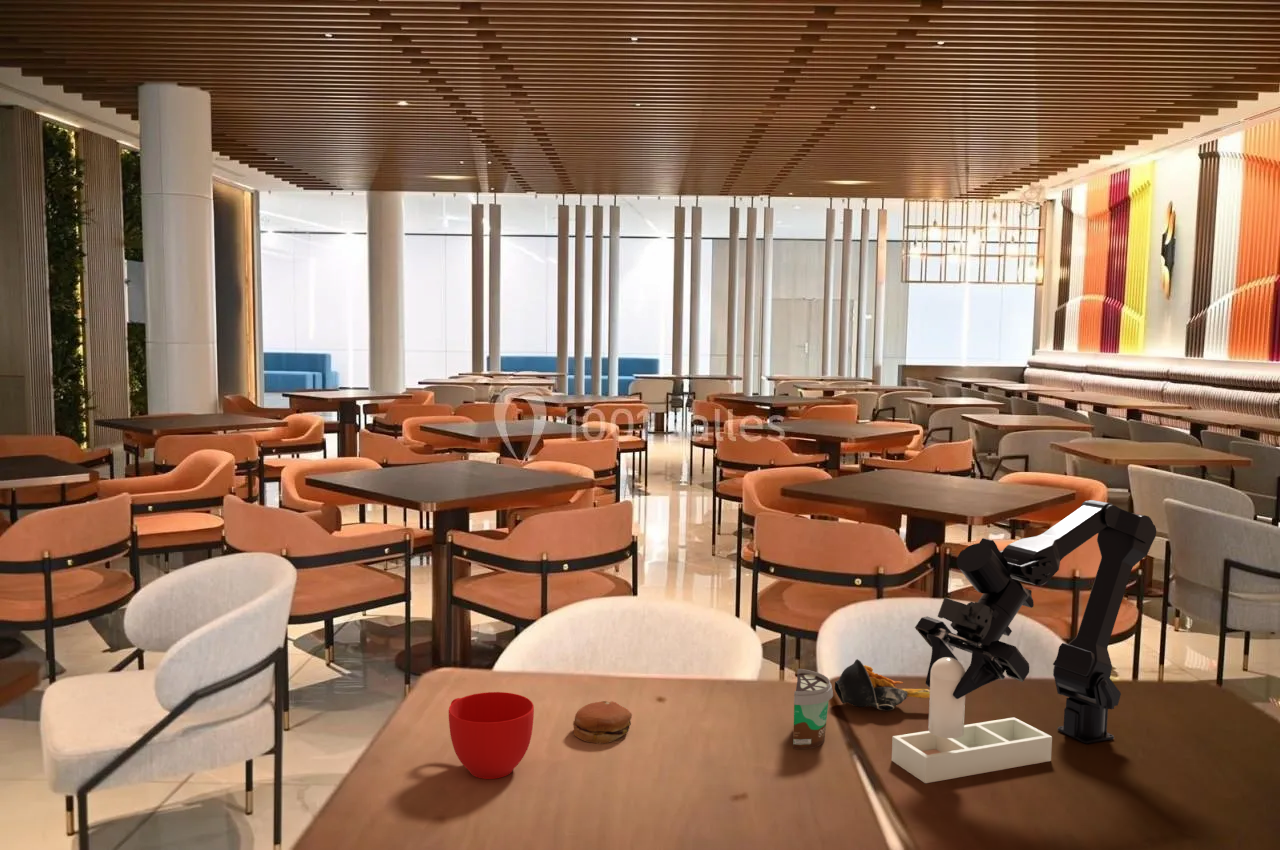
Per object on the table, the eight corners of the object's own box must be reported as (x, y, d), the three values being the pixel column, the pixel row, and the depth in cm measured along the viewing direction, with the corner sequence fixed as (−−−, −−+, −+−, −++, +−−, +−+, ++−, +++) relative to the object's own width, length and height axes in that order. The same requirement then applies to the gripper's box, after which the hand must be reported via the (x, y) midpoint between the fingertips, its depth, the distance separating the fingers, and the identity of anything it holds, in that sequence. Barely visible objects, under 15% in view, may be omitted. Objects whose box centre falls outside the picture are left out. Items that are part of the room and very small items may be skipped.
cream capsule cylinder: (957, 725, 158) (960, 652, 156) (968, 738, 152) (971, 663, 151) (924, 724, 158) (926, 652, 156) (934, 738, 152) (936, 663, 151)
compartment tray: (1013, 740, 169) (1014, 717, 169) (1050, 760, 161) (1052, 736, 161) (891, 760, 160) (892, 736, 160) (925, 783, 153) (926, 757, 152)
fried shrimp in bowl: (824, 670, 189) (913, 639, 190) (846, 729, 186) (937, 696, 187) (832, 668, 180) (925, 635, 182) (855, 729, 177) (950, 695, 178)
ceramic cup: (485, 738, 167) (485, 679, 166) (550, 770, 155) (551, 707, 154) (418, 760, 158) (417, 699, 157) (481, 797, 146) (481, 730, 145)
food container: (831, 755, 162) (833, 695, 161) (792, 752, 163) (794, 692, 162) (832, 726, 174) (834, 670, 173) (796, 723, 175) (797, 667, 174)
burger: (575, 746, 165) (576, 718, 164) (571, 724, 174) (571, 698, 174) (635, 743, 166) (636, 716, 166) (628, 722, 176) (628, 696, 175)
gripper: (925, 567, 163) (871, 643, 158) (1020, 593, 147) (962, 679, 142) (958, 608, 167) (907, 683, 163) (1053, 639, 151) (999, 723, 147)
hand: (941, 691), depth 154 cm, fingers closed on cream capsule cylinder, 5 cm apart
